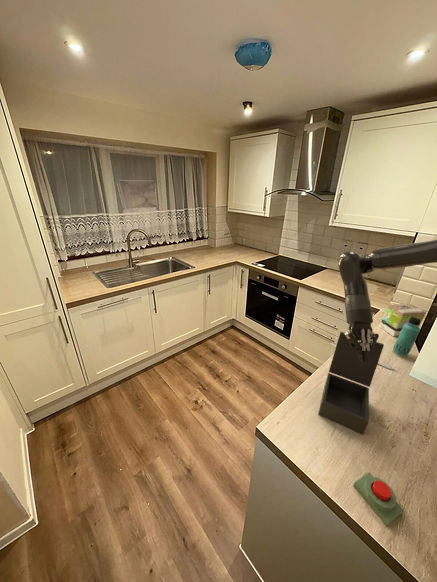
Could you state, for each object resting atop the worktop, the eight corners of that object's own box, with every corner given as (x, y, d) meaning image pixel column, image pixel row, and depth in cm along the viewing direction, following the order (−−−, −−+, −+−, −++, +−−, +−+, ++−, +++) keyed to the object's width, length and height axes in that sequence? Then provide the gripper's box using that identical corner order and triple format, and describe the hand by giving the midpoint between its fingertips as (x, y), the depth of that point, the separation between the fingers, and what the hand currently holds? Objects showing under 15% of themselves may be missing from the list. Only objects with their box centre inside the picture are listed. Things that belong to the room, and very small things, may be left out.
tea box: (393, 337, 126) (403, 313, 120) (378, 326, 135) (387, 304, 128) (416, 334, 129) (427, 311, 123) (399, 324, 138) (409, 302, 131)
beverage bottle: (389, 353, 113) (405, 318, 105) (393, 347, 118) (408, 313, 109) (406, 360, 109) (423, 324, 101) (409, 354, 113) (426, 319, 105)
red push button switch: (368, 475, 65) (372, 467, 64) (402, 512, 58) (407, 505, 56) (352, 486, 63) (355, 478, 61) (385, 527, 55) (390, 520, 54)
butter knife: (393, 370, 102) (394, 366, 104) (329, 344, 117) (331, 341, 119) (393, 371, 102) (394, 367, 104) (329, 345, 118) (331, 342, 120)
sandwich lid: (384, 345, 81) (382, 340, 85) (340, 332, 87) (340, 329, 92) (369, 387, 84) (368, 381, 89) (328, 372, 91) (329, 366, 95)
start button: (377, 481, 61) (380, 477, 60) (391, 496, 58) (394, 493, 57) (368, 488, 60) (370, 484, 59) (382, 504, 57) (385, 500, 56)
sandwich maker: (362, 435, 76) (368, 422, 73) (318, 414, 82) (322, 402, 79) (363, 400, 88) (368, 387, 85) (324, 384, 94) (328, 372, 92)
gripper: (351, 306, 73) (358, 364, 69) (383, 309, 77) (391, 363, 73) (333, 309, 80) (338, 362, 76) (363, 312, 84) (369, 362, 80)
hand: (364, 363), depth 75 cm, fingers closed
